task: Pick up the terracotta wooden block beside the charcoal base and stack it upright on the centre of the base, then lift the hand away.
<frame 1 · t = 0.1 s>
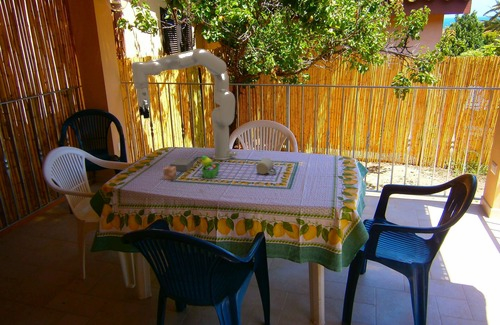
hand: (144, 116, 209), 31 cm above the table, tool pointing down, fingers open, 9 cm apart
ceramic mug: (267, 173, 209), on the table
terracotta block: (170, 178, 205), on the table
charcoal base: (182, 168, 219), on the table
fruit basket: (210, 175, 207), on the table
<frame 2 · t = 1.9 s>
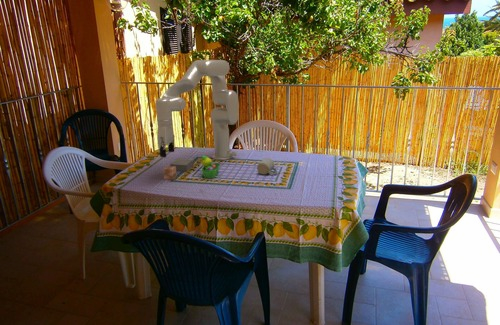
hand: (167, 154, 200), 14 cm above the table, tool pointing down, fingers open, 9 cm apart
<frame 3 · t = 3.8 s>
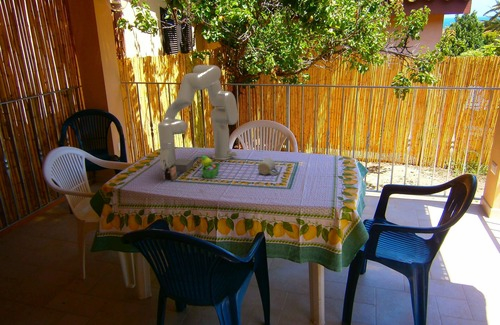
hand: (170, 177, 204), 0 cm above the table, tool pointing down, fingers closed on terracotta block, 5 cm apart
terracotta block: (170, 178, 205), on the table, touching gripper
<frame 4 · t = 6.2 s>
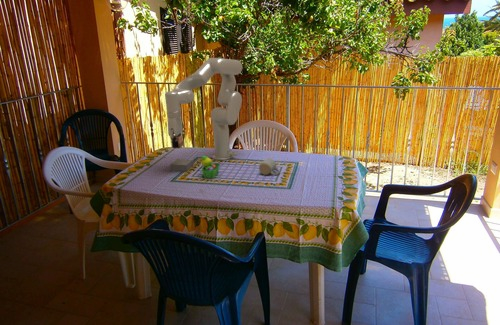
hand: (177, 145, 211), 15 cm above the table, tool pointing down, fingers closed on terracotta block, 5 cm apart
terracotta block: (177, 146, 211), point 14 cm above the table, touching gripper
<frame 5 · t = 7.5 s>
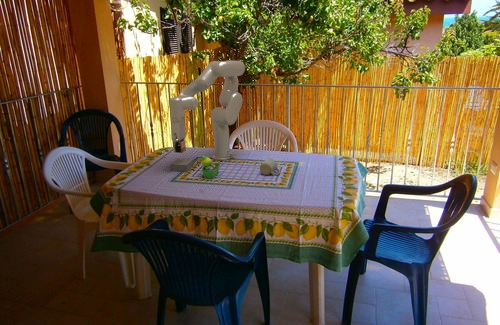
hand: (180, 150, 216), 11 cm above the table, tool pointing down, fingers closed on terracotta block, 5 cm apart
terracotta block: (180, 151, 216), point 10 cm above the table, touching gripper
when the fingers open (6 cm above the table, at t = 8.7 s): terracotta block drops 1 cm, resting on charcoal base.
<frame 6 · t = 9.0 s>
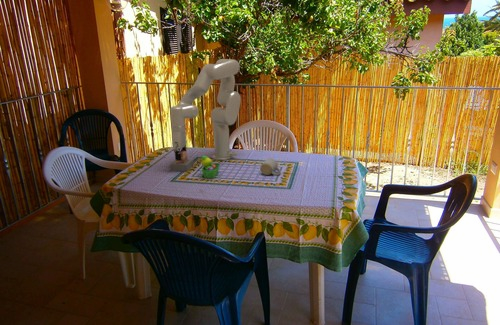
hand: (181, 157, 217), 6 cm above the table, tool pointing down, fingers open, 7 cm apart
terracotta block: (181, 161, 218), point 4 cm above the table, touching charcoal base
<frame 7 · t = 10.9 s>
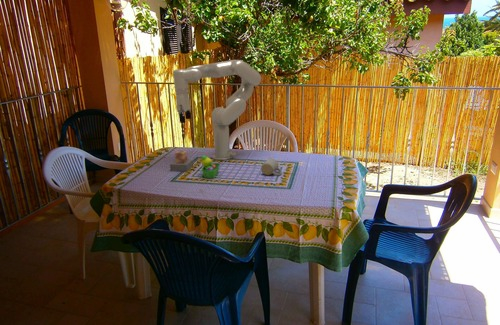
hand: (185, 120, 221), 26 cm above the table, tool pointing down, fingers open, 9 cm apart
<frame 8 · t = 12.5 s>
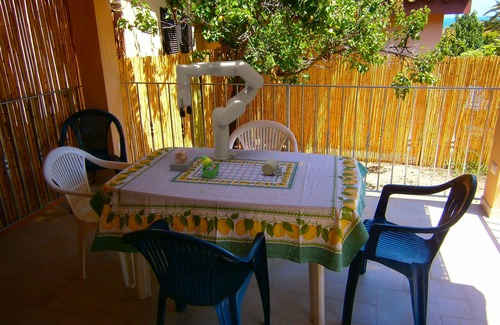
hand: (186, 115, 223), 28 cm above the table, tool pointing down, fingers open, 9 cm apart
at the end: terracotta block 0.0 cm off-centre on the charcoal base, point 4.0 cm above the charcoal base's base; terracotta block tilted 0°; the gripper is holding nothing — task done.
